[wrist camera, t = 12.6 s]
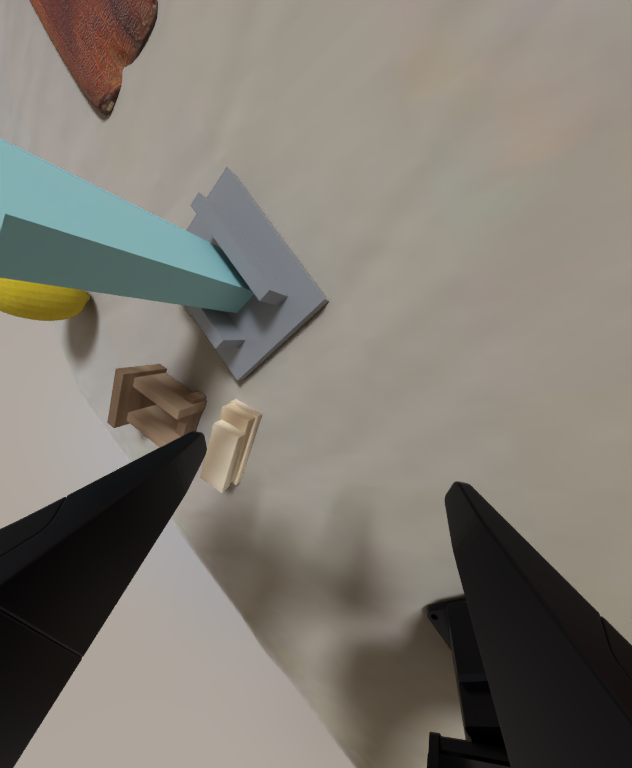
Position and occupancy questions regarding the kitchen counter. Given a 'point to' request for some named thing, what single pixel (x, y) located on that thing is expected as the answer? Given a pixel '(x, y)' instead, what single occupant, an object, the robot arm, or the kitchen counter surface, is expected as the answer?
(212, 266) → the teal rectangular block
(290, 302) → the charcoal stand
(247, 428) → the offcut stack
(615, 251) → the kitchen counter surface
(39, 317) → the lemon
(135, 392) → the stand
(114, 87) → the wooden tablet
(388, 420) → the kitchen counter surface
